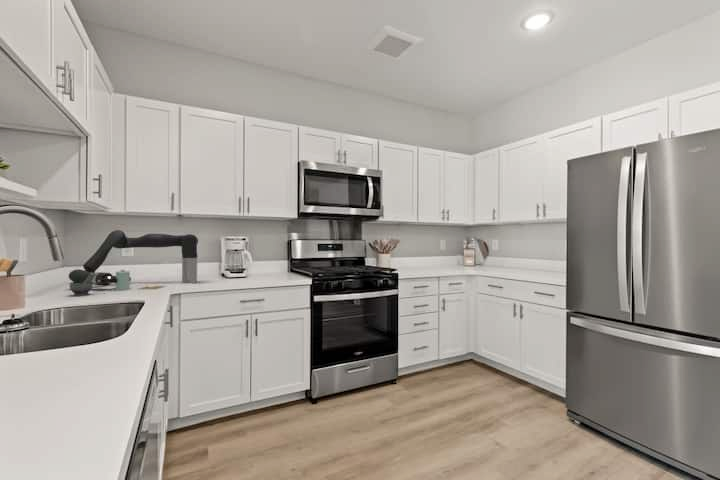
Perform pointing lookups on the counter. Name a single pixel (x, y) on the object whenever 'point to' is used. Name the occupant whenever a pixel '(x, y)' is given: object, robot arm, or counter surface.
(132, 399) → the counter surface
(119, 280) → the green canister
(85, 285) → the mortar and pestle
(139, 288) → the board
